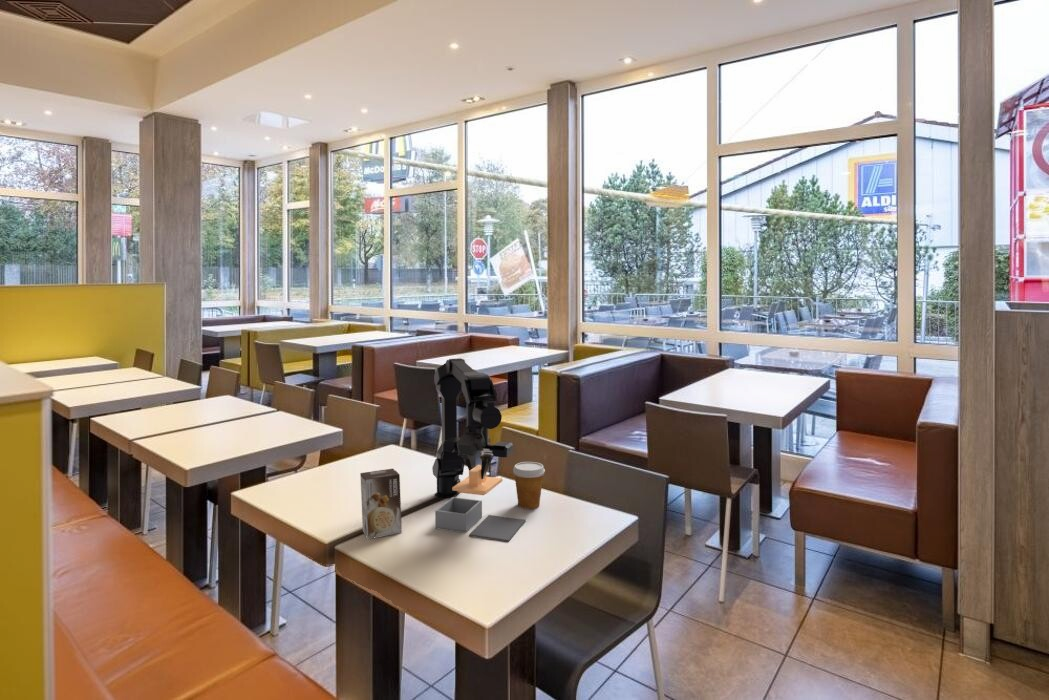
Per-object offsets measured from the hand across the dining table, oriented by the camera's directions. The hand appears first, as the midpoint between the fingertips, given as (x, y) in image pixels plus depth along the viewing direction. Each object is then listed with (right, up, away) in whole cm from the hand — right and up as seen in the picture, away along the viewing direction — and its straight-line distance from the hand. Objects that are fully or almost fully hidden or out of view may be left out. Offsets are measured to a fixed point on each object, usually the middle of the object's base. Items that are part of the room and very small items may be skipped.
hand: (478, 478), depth 160 cm
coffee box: (-25, -14, -2) cm, 29 cm away
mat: (+5, -14, 0) cm, 15 cm away
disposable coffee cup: (+14, -12, +17) cm, 25 cm away
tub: (-6, -13, +4) cm, 15 cm away
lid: (0, -3, 0) cm, 3 cm away
